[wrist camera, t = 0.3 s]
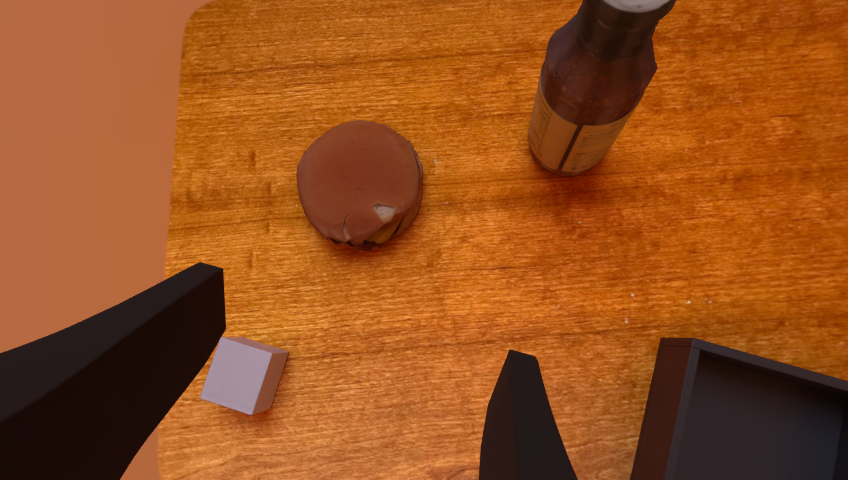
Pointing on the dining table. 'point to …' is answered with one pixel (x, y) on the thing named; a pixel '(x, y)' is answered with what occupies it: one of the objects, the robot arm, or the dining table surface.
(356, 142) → the chocolate glazed sandwich cookie
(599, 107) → the sauce bottle
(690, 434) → the bin
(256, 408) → the cube
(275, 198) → the dining table surface
